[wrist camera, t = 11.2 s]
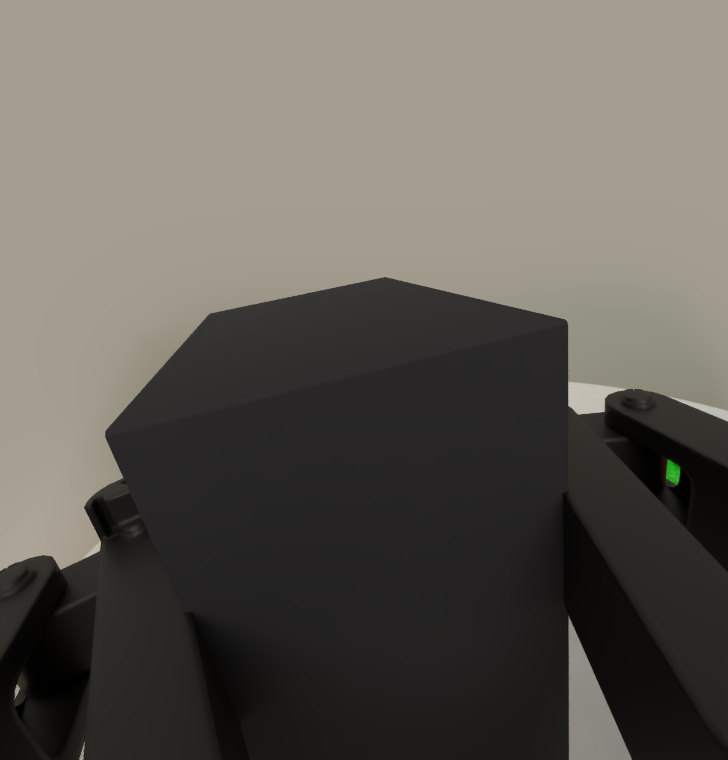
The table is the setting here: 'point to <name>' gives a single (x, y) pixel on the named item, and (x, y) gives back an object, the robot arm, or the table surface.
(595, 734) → the table surface
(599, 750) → the table surface
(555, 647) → the pad block
